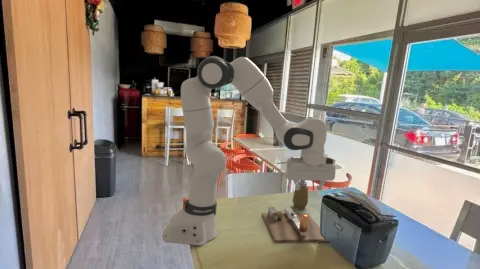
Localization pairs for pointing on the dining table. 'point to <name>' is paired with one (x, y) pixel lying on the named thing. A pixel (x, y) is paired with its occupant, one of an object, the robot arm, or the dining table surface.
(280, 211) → the tan wooden ball
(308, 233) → the walnut board
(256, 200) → the dining table surface
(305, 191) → the squeeze bottle
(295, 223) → the lever
